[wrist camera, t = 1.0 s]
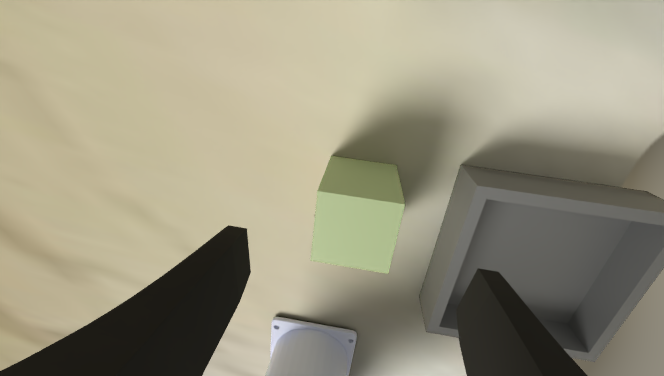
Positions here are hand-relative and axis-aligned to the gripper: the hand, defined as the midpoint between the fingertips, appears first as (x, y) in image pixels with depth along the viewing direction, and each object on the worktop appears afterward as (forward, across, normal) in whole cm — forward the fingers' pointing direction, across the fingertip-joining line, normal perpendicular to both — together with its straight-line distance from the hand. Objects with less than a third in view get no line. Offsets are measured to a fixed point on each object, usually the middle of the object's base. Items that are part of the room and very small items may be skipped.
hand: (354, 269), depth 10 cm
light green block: (+12, 0, +5) cm, 13 cm away
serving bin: (+12, -12, +8) cm, 19 cm away
